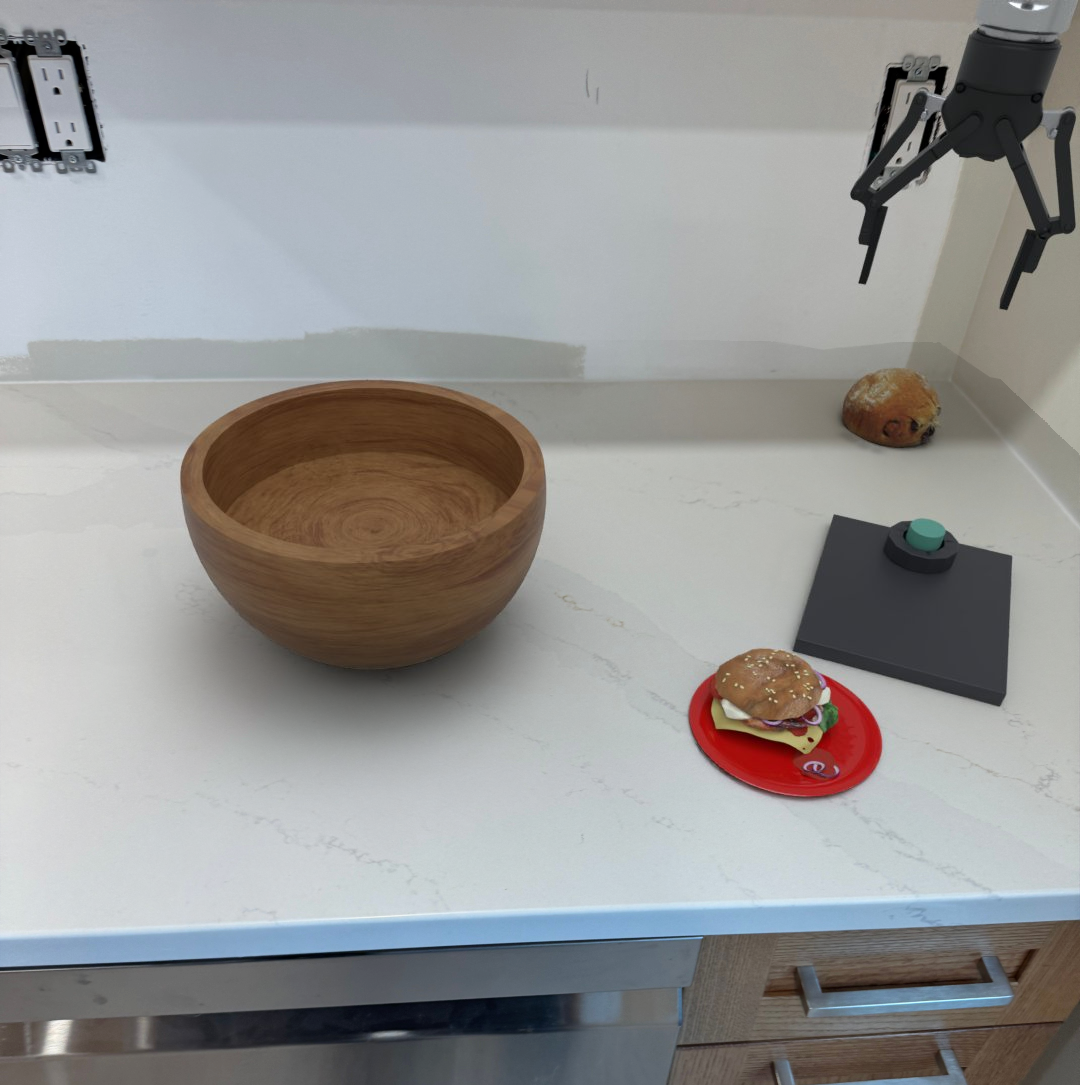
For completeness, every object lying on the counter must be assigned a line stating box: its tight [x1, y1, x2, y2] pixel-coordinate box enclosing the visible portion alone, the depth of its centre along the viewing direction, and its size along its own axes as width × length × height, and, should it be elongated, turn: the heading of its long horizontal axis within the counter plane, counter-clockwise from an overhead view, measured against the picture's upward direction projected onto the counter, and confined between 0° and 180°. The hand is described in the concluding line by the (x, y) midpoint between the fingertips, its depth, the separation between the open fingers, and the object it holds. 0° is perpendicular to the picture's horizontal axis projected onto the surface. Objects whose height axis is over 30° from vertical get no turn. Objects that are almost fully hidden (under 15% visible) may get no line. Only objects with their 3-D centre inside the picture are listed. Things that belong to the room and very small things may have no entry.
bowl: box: [179, 379, 547, 670], centre depth 71 cm, size 25×25×15 cm
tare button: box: [905, 517, 947, 551], centre depth 84 cm, size 3×3×2 cm
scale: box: [791, 513, 1013, 707], centre depth 80 cm, size 16×20×3 cm
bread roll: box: [841, 367, 942, 448], centre depth 104 cm, size 10×10×8 cm
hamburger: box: [688, 646, 883, 797], centre depth 68 cm, size 14×14×6 cm
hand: (932, 292), depth 95 cm, fingers open, 13 cm apart
